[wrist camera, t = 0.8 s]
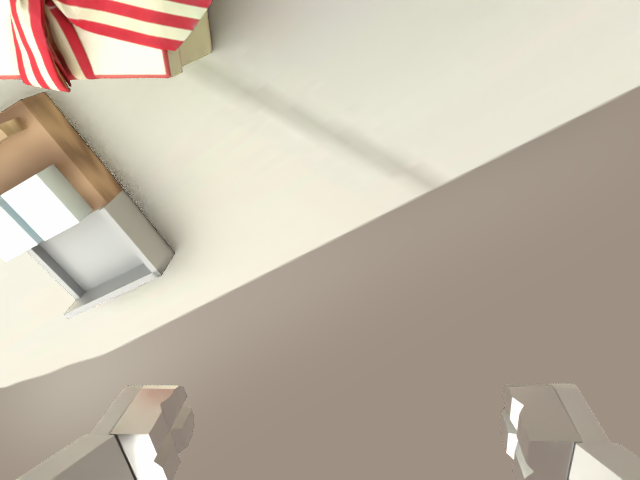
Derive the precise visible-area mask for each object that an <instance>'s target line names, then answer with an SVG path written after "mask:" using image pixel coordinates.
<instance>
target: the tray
mask: <svg viewBox="0 0 640 480" xmlns="http://www.w3.org/2000/svg"><path fill="white" fill-rule="evenodd" d="M27 252H28V253H29V254H30V255H31V256H32V257H33V258H34V259H35V260H36V261H37V262H38V263H39V264H40V265H41V266H42V267H43V268H44V269H45V270H46V271H47V272H48V273H49V274H50V275H51V276H52V277H53V278H54V279H55V280H56V281H57V282H58V283H59V284H60V285H61V286H62V287H63V288H64V289H65V290H66V291H67V292H68V293H69V294H70V295H71V296H72V297H73V298H74V299H75V302H74V303H73V304H72V305H71V306H70V308H69V309H68V310H67V311H66V312H65V314H64V316H65V317H66V318H67V319H69V318H72V317H74V316H76V315H78V314H80V313H82V312H84V311H87V310H89V309H91V308H93V307H95V306H97V305H99V304H102V303H104V302H106V301H108V300H110V299H112V298H114V297H117V296H119V295H121V294H123V293H125V292H127V291H129V290H132V289H134V288H136V287H138V286H140V285H142V284H144V283H147V282H149V281H151V280H153V279H155V278H157V277H159V276H162V274H163V272H164V271H165V269H166V267H167V266H168V264H169V262H170V261H171V259H172V257H173V256H174V254H175V253H174V252H173V250H172V249H171V248H170V247H169V245H168V244H167V243H166V242H165V240H164V239H163V238H162V237H161V236H160V234H159V233H158V232H157V231H156V229H155V228H154V227H153V226H152V224H151V223H150V222H149V221H148V219H147V218H146V217H145V216H144V215H143V213H142V212H141V211H140V210H139V208H138V207H137V206H136V205H135V203H134V202H133V201H132V200H131V198H130V197H129V196H128V195H127V194H126V192H125V191H124V190H122V191H121V192H120V193H119V194H118V195H117V196H116V197H115V198H114V199H113V200H112V201H111V202H110V203H108V204H107V205H105V206H103V207H101V208H100V209H98V210H96V211H94V212H92V213H90V214H88V215H87V216H86V217H85V218H84V219H82V220H81V221H80V222H79V223H77V224H75V225H73V226H72V227H70V228H68V229H66V230H64V231H62V232H60V233H59V234H57V235H55V236H53V237H51V238H49V239H47V240H46V241H44V240H43V241H42V242H40V243H39V244H38V245H36V246H34V247H32V248H31V249H29V250H27Z"/></svg>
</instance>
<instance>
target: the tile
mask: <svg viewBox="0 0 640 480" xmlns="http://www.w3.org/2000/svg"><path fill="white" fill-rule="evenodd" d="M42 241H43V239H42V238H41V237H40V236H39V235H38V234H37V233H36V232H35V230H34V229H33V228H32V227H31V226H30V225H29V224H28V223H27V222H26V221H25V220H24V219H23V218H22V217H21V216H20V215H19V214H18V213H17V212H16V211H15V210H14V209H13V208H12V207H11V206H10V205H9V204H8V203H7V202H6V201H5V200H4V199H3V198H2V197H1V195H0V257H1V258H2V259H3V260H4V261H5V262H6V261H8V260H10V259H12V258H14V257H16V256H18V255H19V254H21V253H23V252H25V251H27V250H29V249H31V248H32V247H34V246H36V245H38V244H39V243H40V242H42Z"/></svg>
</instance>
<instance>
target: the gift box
mask: <svg viewBox="0 0 640 480" xmlns="http://www.w3.org/2000/svg"><path fill="white" fill-rule="evenodd" d="M212 1H213V0H0V79H22V81H23V82H24V83H25V84H27V85H31V86H36V87H41V88H46V89H52V90H58V91H64V92H70V88H69V87H68V85H69V86H71V83H70V80H76V79H99V78H170V77H173V76H176V75H178V74H180V73H182V72H183V71H182V66H184V65H186V64H188V63H190V62H192V61H195V60H197V59H199V58H201V57H203V56H205V55H207V54H210V53H211V52H212V45H211V36H210V28H209V20H208V12H207V9H208V8H209V6H210V4H211V3H212ZM65 80H66V81H65ZM66 82H67V83H68V85H67V83H66Z"/></svg>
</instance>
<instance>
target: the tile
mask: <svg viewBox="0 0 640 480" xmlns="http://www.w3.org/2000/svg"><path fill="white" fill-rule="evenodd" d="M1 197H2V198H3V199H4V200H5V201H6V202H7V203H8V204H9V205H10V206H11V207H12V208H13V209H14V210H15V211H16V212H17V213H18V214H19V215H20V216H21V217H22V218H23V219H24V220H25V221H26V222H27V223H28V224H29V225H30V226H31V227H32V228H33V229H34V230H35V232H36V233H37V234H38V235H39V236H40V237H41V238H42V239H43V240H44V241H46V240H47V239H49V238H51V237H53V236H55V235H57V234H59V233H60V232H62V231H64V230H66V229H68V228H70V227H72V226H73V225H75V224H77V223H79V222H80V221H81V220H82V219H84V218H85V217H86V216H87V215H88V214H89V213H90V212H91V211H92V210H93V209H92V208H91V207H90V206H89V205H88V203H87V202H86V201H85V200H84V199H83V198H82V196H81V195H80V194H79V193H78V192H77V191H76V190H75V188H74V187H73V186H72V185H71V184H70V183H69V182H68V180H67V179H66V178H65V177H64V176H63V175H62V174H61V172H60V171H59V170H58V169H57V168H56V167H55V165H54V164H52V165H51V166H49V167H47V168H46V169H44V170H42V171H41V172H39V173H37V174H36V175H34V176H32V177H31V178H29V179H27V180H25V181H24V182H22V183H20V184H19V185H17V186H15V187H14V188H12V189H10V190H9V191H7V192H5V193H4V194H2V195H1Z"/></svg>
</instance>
